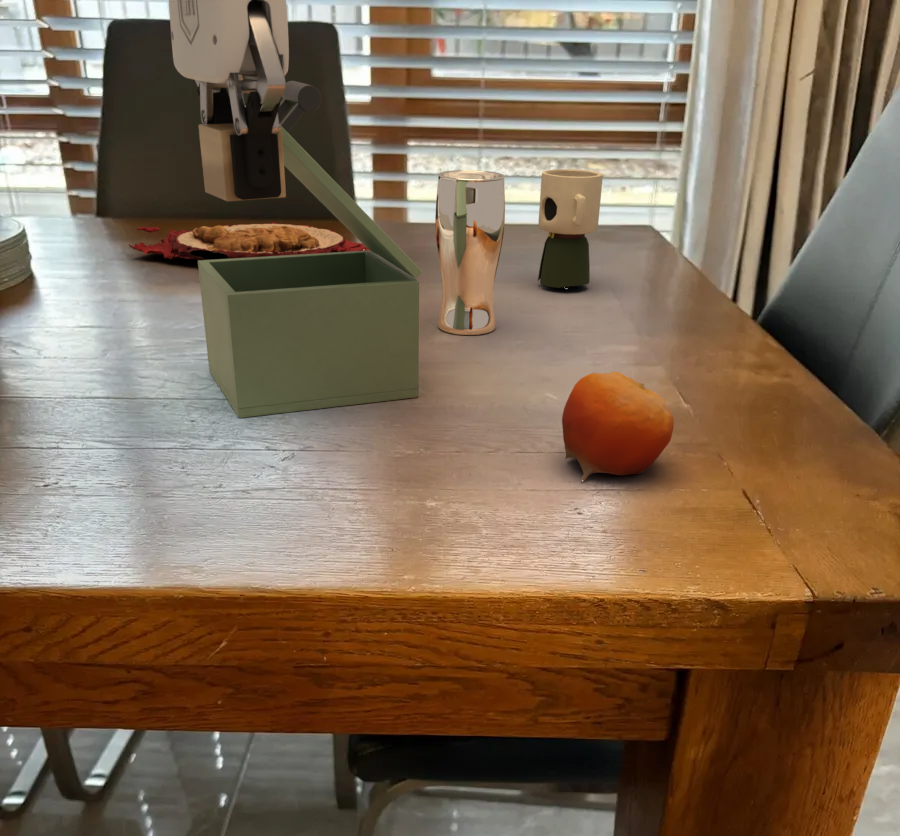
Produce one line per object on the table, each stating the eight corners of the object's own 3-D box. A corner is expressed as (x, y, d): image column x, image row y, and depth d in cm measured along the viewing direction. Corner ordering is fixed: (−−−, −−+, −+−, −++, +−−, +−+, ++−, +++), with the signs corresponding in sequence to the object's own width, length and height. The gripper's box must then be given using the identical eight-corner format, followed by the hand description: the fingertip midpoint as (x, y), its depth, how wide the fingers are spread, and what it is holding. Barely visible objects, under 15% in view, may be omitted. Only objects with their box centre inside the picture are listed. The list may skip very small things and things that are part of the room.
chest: (238, 418, 79) (227, 295, 74) (209, 371, 89) (197, 260, 84) (418, 397, 84) (419, 281, 79) (372, 355, 94) (370, 250, 89)
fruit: (518, 437, 73) (575, 342, 71) (593, 477, 77) (650, 388, 75) (566, 479, 66) (631, 376, 64) (645, 520, 71) (709, 424, 68)
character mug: (525, 277, 124) (532, 166, 117) (579, 276, 125) (589, 166, 118) (545, 298, 115) (553, 179, 108) (603, 297, 116) (615, 179, 109)
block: (226, 201, 67) (220, 130, 65) (204, 192, 70) (198, 124, 68) (286, 197, 69) (282, 128, 67) (262, 188, 72) (257, 122, 70)
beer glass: (462, 340, 99) (467, 181, 92) (420, 325, 104) (421, 172, 96) (513, 329, 103) (521, 176, 95) (470, 315, 108) (475, 167, 100)
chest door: (263, 123, 69) (308, 66, 69) (227, 108, 79) (266, 58, 78) (416, 279, 79) (457, 231, 78) (367, 248, 89) (403, 205, 88)
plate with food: (295, 285, 118) (295, 255, 117) (129, 255, 127) (126, 227, 125) (389, 253, 137) (390, 227, 135) (238, 229, 146) (237, 204, 144)
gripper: (119, -120, 64) (156, 179, 74) (206, -147, 52) (237, 215, 62) (227, -111, 68) (250, 174, 77) (333, -134, 56) (345, 207, 65)
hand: (244, 189), depth 69 cm, fingers closed on block, 4 cm apart
